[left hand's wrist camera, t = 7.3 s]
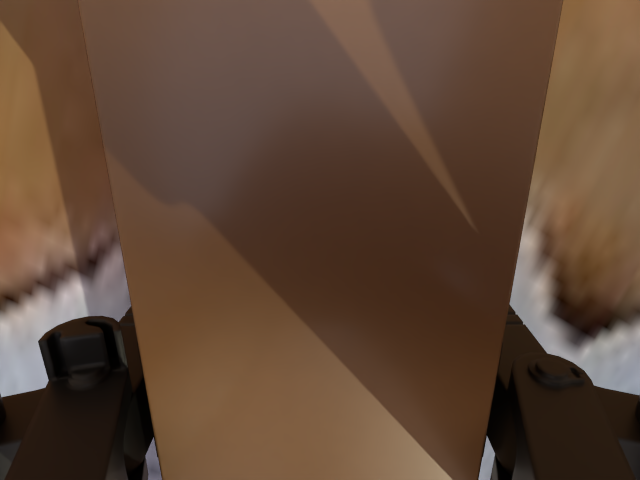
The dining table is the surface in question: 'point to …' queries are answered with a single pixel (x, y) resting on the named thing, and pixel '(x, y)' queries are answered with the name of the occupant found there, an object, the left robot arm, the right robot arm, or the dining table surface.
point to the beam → (320, 223)
